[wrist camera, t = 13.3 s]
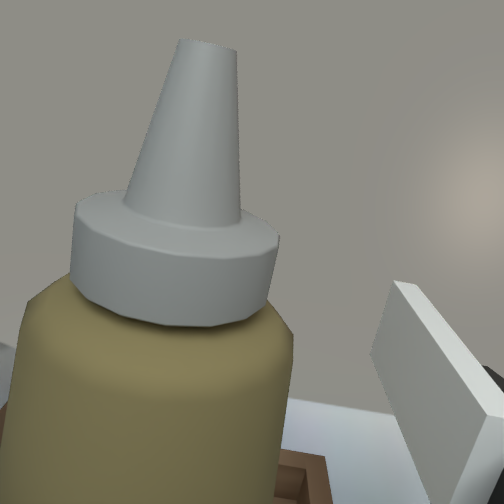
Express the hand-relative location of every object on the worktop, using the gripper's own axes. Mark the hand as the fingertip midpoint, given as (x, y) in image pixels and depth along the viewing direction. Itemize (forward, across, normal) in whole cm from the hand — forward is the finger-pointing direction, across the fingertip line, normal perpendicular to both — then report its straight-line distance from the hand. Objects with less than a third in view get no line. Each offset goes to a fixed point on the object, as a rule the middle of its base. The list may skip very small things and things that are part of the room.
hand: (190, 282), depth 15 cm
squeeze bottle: (-3, 0, -12) cm, 12 cm away
